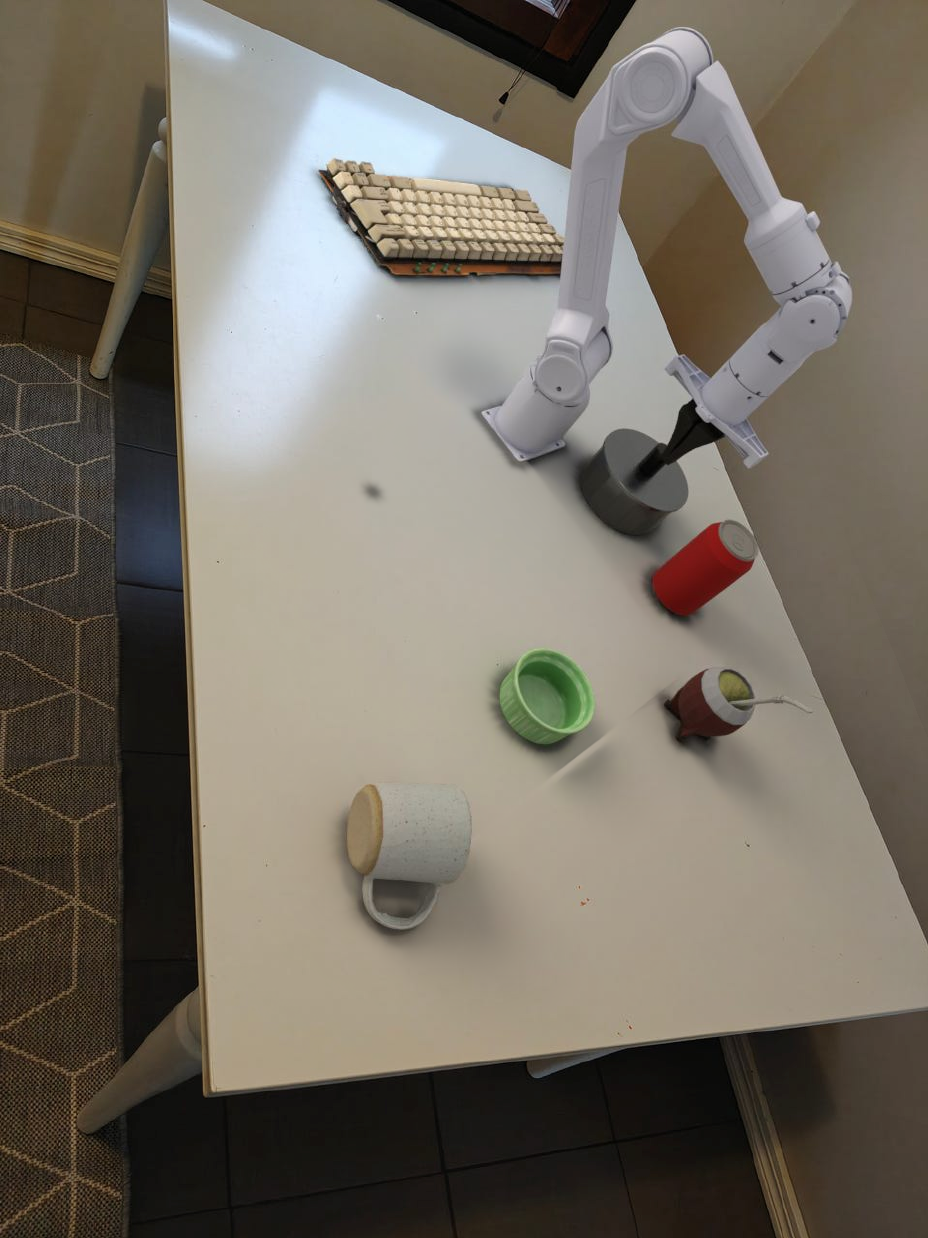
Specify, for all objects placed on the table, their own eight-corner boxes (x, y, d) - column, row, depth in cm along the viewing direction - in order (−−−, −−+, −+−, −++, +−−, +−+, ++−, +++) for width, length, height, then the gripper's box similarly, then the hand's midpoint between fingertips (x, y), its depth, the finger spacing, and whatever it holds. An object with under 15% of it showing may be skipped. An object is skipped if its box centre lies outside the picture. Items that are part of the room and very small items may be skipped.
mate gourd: (671, 680, 96) (767, 613, 85) (723, 725, 96) (826, 665, 85) (650, 724, 91) (750, 660, 80) (706, 772, 91) (813, 714, 80)
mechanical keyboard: (509, 189, 137) (520, 170, 134) (573, 276, 132) (585, 259, 130) (310, 174, 113) (319, 151, 110) (379, 280, 108) (390, 259, 106)
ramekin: (476, 705, 81) (499, 685, 78) (519, 651, 87) (542, 630, 84) (545, 769, 81) (571, 751, 78) (584, 711, 87) (609, 692, 84)
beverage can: (696, 590, 106) (765, 535, 97) (689, 628, 102) (761, 575, 93) (652, 561, 105) (718, 504, 96) (644, 599, 101) (712, 542, 92)
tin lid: (636, 424, 110) (658, 399, 107) (699, 499, 108) (723, 476, 105) (581, 447, 102) (603, 422, 98) (647, 529, 100) (673, 505, 96)
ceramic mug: (339, 798, 70) (375, 765, 64) (429, 803, 73) (471, 772, 68) (344, 933, 65) (383, 911, 59) (441, 932, 68) (487, 910, 62)
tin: (615, 452, 113) (640, 425, 109) (670, 520, 111) (697, 495, 107) (563, 473, 106) (588, 445, 102) (621, 546, 104) (648, 520, 100)
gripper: (687, 330, 88) (610, 418, 98) (779, 436, 85) (690, 516, 95) (719, 321, 92) (642, 406, 102) (808, 422, 90) (720, 499, 100)
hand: (667, 458), depth 99 cm, fingers closed
